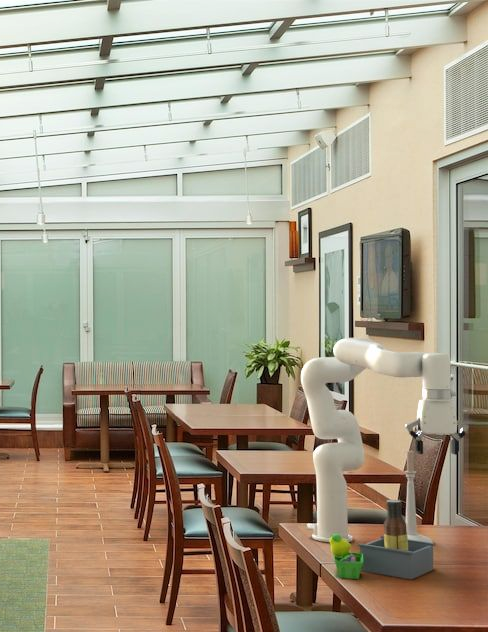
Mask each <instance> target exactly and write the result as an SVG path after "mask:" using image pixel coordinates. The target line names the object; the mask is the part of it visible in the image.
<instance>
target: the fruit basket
mask: <svg viewBox="0 0 488 632" xmlns="http://www.w3.org/2000/svg"><path fill="white" fill-rule="evenodd" d="M331 536H332V537H331V538H330V542H329V544H330V545H329V546H330V551H331V553H332V555H333V561H334V564H335V568H336V572H337V575H338V578H340V579H351V580H353V579H354V580H359V579H360V575H361V572H362V571H361V567H362V565H363V554H361V553H360V552H353V551H352V552H350V550H351V548H352V545H351V542H347V541H346V540H345V539H343V538H342V537H341V536H340V535H339V534H334V535H333V534H332V535H331Z"/></svg>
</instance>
